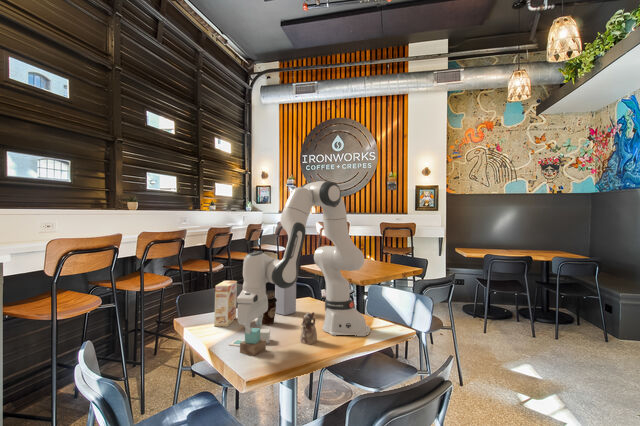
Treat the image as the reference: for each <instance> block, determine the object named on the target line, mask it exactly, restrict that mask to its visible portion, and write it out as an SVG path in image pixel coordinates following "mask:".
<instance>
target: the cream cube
mask: <svg viewBox="0 0 640 426" xmlns="http://www.w3.org/2000/svg"><path fill="white" fill-rule="evenodd" d="M260 339H262V340H266V344H269V343H270V340H271V329H270V328H260Z"/></svg>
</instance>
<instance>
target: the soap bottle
mask: <svg viewBox="0 0 640 426" xmlns="http://www.w3.org/2000/svg"><path fill="white" fill-rule="evenodd" d="M274 288H275V289H274V296H275V298H276V299H277V301H276V311H275V314H278V315H282V316H289V315H292V314H294V313H296V311H297V281H296V282H295V283H294V284H293V285H292V286H291V287H289V288H280V287H278V286H277V285H275V284H274Z"/></svg>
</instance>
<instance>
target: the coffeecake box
mask: <svg viewBox="0 0 640 426" xmlns="http://www.w3.org/2000/svg"><path fill="white" fill-rule="evenodd" d="M214 286H215V287H214V289H215V291H214V316H213V317H214V320H213V322H214V323H213V326H214V327H221V326H223V328H224V327H226V328H228V327H229V326H230V325H231V324H233V322H234V321H235V320H236V319H237V297H238V296H237V294H238V293H237V292H238V281H237V280H222V282H219V283H218V284H216V285H214ZM235 318H236V319H235ZM234 319H235V320H234Z"/></svg>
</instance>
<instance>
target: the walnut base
mask: <svg viewBox="0 0 640 426" xmlns="http://www.w3.org/2000/svg"><path fill="white" fill-rule="evenodd" d="M266 344H267V343H266V340H262V339H260V341H259V342H258V343H256V344H250V343H245V341H243V342H241V343H240V346H239V353H240V354H245V355H248V356H253V357H256V356H257V355H259V354H261V353H263V352H265V351H266V348H267V345H266Z"/></svg>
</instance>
